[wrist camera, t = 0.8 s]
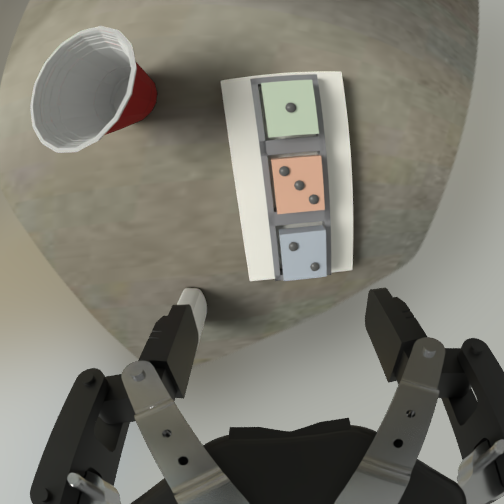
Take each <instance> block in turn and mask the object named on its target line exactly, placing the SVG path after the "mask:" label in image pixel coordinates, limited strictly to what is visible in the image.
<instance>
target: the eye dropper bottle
mask: <svg viewBox="0 0 504 504" xmlns="http://www.w3.org/2000/svg"><path fill="white" fill-rule="evenodd" d="M184 304H189V305H190V306H191V308H192V312H193V315H194V319H195V322H196V326H197V329H198V335H199V340H200V337H201V333H202V329H203V326H204V322H205V319H206V315H207V303H206V300H205V297H204V295H203V293H202V291H201V290H200V289H197V288H185V289H184V290H183V292H182V294H181V297H180V299H179V301H178V303H177V305H184ZM199 340H198V344H199ZM197 347H198V346H197ZM196 351H197V350H196Z"/></svg>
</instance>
